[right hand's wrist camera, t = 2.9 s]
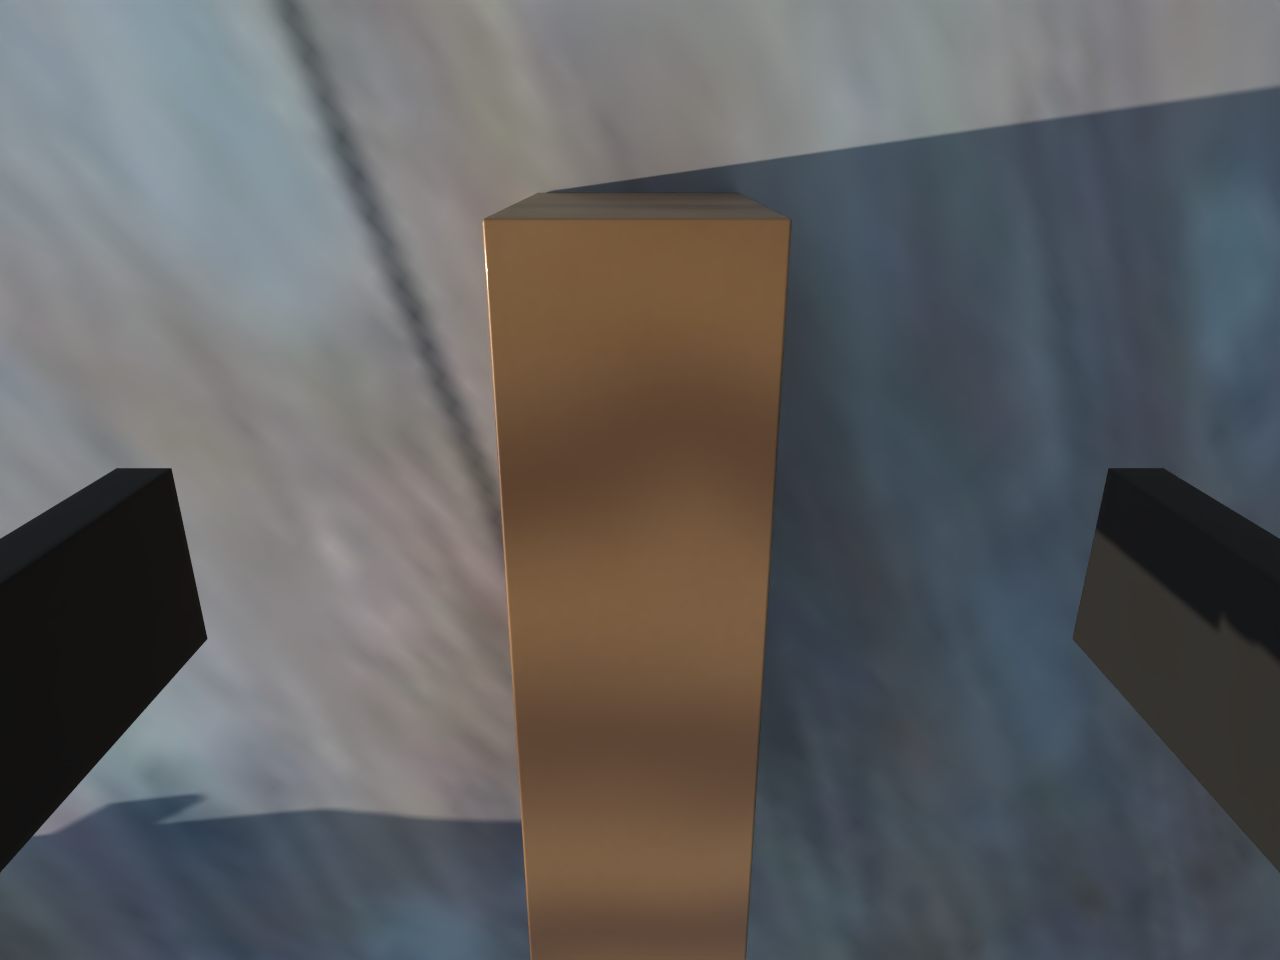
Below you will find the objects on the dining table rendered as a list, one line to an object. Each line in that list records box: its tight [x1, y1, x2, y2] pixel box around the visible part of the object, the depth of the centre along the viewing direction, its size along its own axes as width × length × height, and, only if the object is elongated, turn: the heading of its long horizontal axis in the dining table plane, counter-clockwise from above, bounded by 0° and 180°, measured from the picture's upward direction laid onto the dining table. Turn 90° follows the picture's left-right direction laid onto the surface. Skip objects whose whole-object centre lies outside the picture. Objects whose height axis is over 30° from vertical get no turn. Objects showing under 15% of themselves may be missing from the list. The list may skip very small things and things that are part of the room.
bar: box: [482, 193, 792, 960], centre depth 23 cm, size 22×6×8 cm, turn 0°
